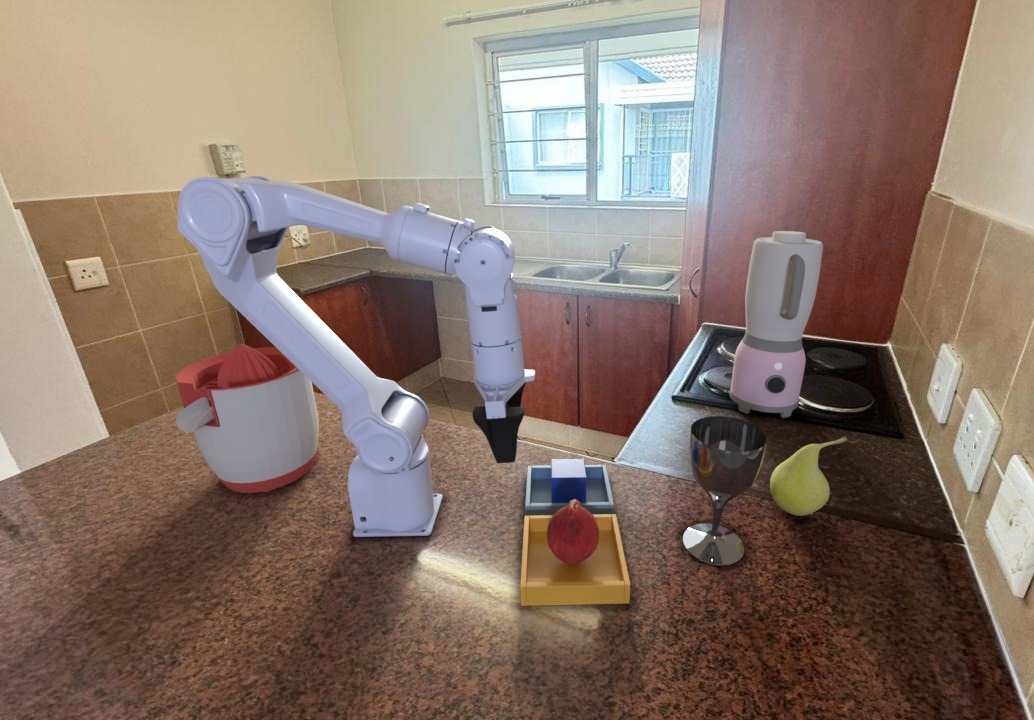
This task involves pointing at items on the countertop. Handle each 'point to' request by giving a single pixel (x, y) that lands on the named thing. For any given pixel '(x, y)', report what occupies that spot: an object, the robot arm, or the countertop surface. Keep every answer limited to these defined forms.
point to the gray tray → (541, 503)
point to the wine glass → (722, 480)
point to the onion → (573, 533)
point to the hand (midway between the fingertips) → (508, 444)
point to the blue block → (568, 480)
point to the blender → (776, 322)
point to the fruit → (801, 481)
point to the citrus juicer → (250, 417)
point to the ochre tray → (573, 568)
